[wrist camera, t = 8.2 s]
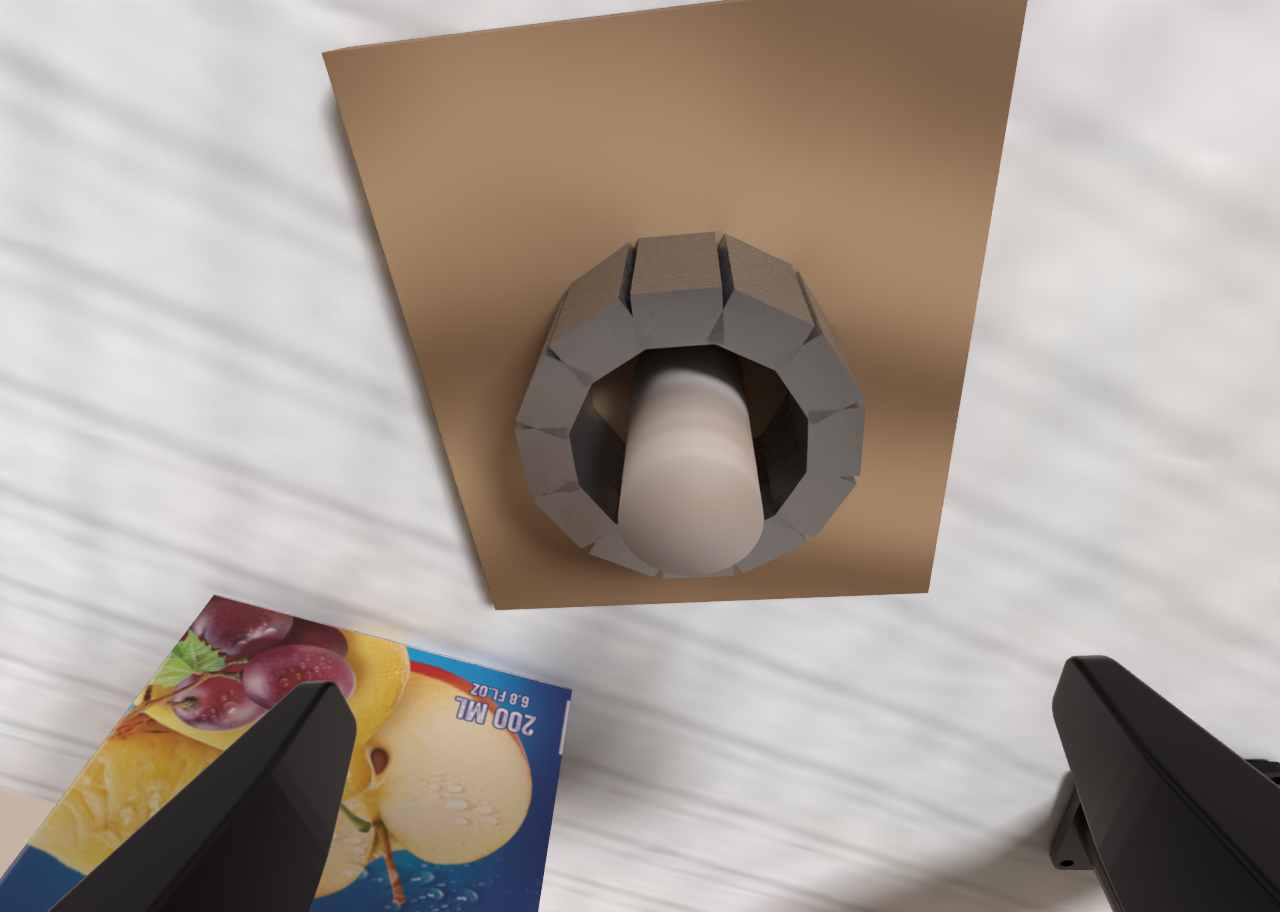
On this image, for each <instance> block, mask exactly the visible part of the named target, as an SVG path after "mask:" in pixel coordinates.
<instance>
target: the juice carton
mask: <svg viewBox="0 0 1280 912" xmlns="http://www.w3.org/2000/svg"><path fill="white" fill-rule="evenodd" d="M326 680H329V681H333V682H334V683H336V684H337V685H338V687H339V688H340V690H341V692H342V694H343V696H344V698H345V699H346V701H347V703H348V705H349V707H350V709H351V711H352V712H353V714H354V716H355V719H356V724H357V734H356V740H355V744H354V749H353V753H352V757H351V762H350V766H349V770H348V775H347V779H346V783H345V788H344V792H343V796H342V800H341V805H340V809H339V813H338V818H337V822H336V826H335V831H334V835H333V839H332V843H331V847H330V850H329V854H328V858H327V861H326V864H325V867H324V870H323V874H322V877H321V880H320V883H319V886H318V889H317V892H316V894H315V897H314V900H313V903H312V906H311V909H310V912H538V909H539V902H540V895H541V889H542V882H543V876H544V869H545V863H546V856H547V850H548V843H549V837H550V830H551V824H552V817H553V810H554V804H555V797H556V791H557V784H558V778H559V771H560V765H561V758H562V752H563V745H564V739H565V732H566V725H567V719H568V712H569V706H570V699H571V693H572V689H569V688H566V687H562V686H558V685H554V684H551V683H547V682H543V681H539V680H536V679H532V678H528V677H524V676H520V675H517V674H513V673H509V672H505V671H502V670H498V669H494V668H490V667H487V666H483V665H479V664H475V663H471V662H468V661H464V660H460V659H456V658H453V657H449V656H445V655H441V654H437V653H434V652H430V651H426V650H422V649H419V648H415V647H411V646H407V645H404V644H400V643H396V642H392V641H388V640H385V639H381V638H377V637H373V636H370V635H366V634H362V633H358V632H355V631H351V630H347V629H343V628H339V627H336V626H332V625H328V624H324V623H321V622H317V621H313V620H309V619H306V618H302V617H298V616H294V615H290V614H287V613H283V612H279V611H275V610H272V609H268V608H264V607H260V606H256V605H253V604H249V603H245V602H241V601H238V600H234V599H230V598H226V597H223V596H219V595H214V596H213V597H212V598H211V600H210V601H209V602H208V604H207V605H206V606H205V608H204V609H203V610H202V612H201V613H200V614H199V616H198V617H197V618H196V620H195V621H194V622H193V624H192V625H191V626H190V628H189V629H188V630H187V632H186V633H185V634H184V636H183V637H182V638H181V640H180V641H179V642H178V644H177V645H176V646H175V647H174V649H173V650H172V651H171V653H170V654H169V655H168V657H167V658H166V659H165V661H164V662H163V663H162V665H161V666H160V667H159V669H158V670H157V671H156V673H155V674H154V675H153V677H152V678H151V679H150V681H149V682H148V683H147V685H146V686H145V687H144V689H143V690H142V691H141V693H140V694H139V695H138V697H137V698H136V699H135V701H134V702H133V703H132V705H131V706H130V707H129V709H128V710H127V711H126V713H125V714H124V715H123V717H122V718H121V719H120V721H119V722H118V723H117V725H116V726H115V727H114V728H113V730H112V731H111V732H110V734H109V735H108V736H107V738H106V739H105V740H104V742H103V743H102V744H101V746H100V747H99V748H98V750H97V751H96V752H95V754H94V755H93V756H92V758H91V759H90V760H89V762H88V763H87V764H86V766H85V767H84V768H83V770H82V771H81V772H80V774H79V775H78V776H77V778H76V779H75V780H74V782H73V783H72V784H71V786H70V787H69V788H68V790H67V791H66V792H65V794H64V795H63V796H62V798H61V799H60V800H59V802H58V803H57V804H56V806H55V807H54V808H53V810H52V811H51V812H50V814H49V815H48V816H47V817H46V819H45V820H44V822H43V823H42V824H41V825H40V827H39V828H38V829H37V831H36V832H35V833H34V835H33V836H32V838H31V839H30V840H29V841H28V843H27V844H26V846H25V847H24V848H23V849H22V851H21V852H20V853H19V855H18V856H17V857H16V859H15V860H14V861H13V863H12V864H11V866H10V867H9V868H8V869H7V871H6V872H5V873H4V875H3V876H2V877H1V879H0V912H47V911H48V910H49V909H50V908H52V907H53V906H54V905H55V904H56V903H57V902H58V901H59V900H60V899H61V898H63V897H64V896H65V895H66V894H67V893H68V892H69V891H70V890H71V889H73V888H74V887H75V886H76V885H77V884H78V883H79V882H80V881H81V880H82V879H84V878H85V877H86V876H87V875H88V874H89V873H90V872H91V871H92V870H93V869H95V868H96V867H97V866H98V865H99V864H100V863H101V862H102V861H103V860H105V859H106V858H107V857H108V856H109V855H110V854H111V853H112V852H113V851H114V850H116V849H117V848H118V847H119V846H120V845H121V844H122V843H123V842H124V841H125V840H127V839H128V838H129V837H130V836H131V835H132V834H133V833H134V832H135V831H137V830H138V829H139V828H140V827H141V826H142V825H143V824H144V823H145V822H146V821H148V820H149V819H150V818H151V817H152V816H153V815H154V814H155V813H156V812H157V811H159V810H160V809H161V808H162V807H163V806H164V805H165V804H166V803H167V802H169V801H170V800H171V799H172V798H173V797H174V796H175V795H176V794H177V793H178V792H180V791H181V790H182V789H183V788H184V787H185V786H186V785H187V784H188V783H190V782H191V781H192V780H193V779H194V778H195V777H196V776H197V775H198V774H199V773H201V772H202V771H203V770H204V769H205V768H206V767H207V766H208V765H209V764H210V763H212V762H213V761H214V760H215V759H216V758H217V757H218V756H219V755H220V754H222V753H223V752H224V751H225V750H226V749H227V748H228V747H229V746H230V745H231V744H233V743H234V742H235V741H236V740H237V739H238V738H239V737H240V736H241V735H242V734H244V733H245V732H246V731H247V730H248V729H249V728H250V727H251V726H252V725H254V724H255V723H256V722H257V721H258V720H259V719H260V718H261V717H262V716H263V715H265V714H266V713H267V712H268V711H269V710H270V709H271V708H272V707H273V706H274V705H276V704H277V703H278V702H279V701H280V700H281V699H282V698H283V697H284V696H286V695H287V694H288V693H289V692H290V691H291V690H292V689H293V688H294V687H296V686H297V685H299V684H300V683H302V682H306V681H326Z"/></svg>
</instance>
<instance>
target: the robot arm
mask: <svg viewBox="0 0 1280 912" xmlns="http://www.w3.org/2000/svg"><path fill="white" fill-rule="evenodd" d="M1052 712H1053V717H1054V721H1055V724H1056V727H1057V730H1058V733H1059V736H1060V739H1061V742H1062V746H1063V749H1064V752H1065V755H1066V758H1067V761H1068V764H1069V767H1070V770H1071V773H1072V776H1073V779H1074V782H1075V785H1076V790H1075V793H1074V795H1073V797H1072V800H1071V802H1070V805H1069V807H1068V809H1067V812H1066V814H1065V817H1064V819H1063V821H1062V824H1061V826H1060V828H1059V831H1058V833H1057V836H1056V838H1055V840H1054V843H1053V845H1052V847H1051V850H1050V852H1049V856H1050V859H1051V861H1052V863H1053V866H1054V867H1055V868H1057V869H1062V870H1094V871H1095V874H1096V876H1097V878H1098V880H1099V882H1100V884H1101V887H1102V889H1103V891H1104V893H1105V895H1106V897H1107V900H1108V902H1109V904H1110V906H1111V908H1112V910H1113V912H1280V763H1279V762H1247V761H1245V760H1244V759H1243V758H1241V757H1240V756H1239V755H1237V754H1236V753H1235V752H1234V751H1232V750H1231V749H1230V748H1228V747H1227V746H1226V745H1224V744H1223V743H1222V742H1221V741H1219V740H1218V739H1217V738H1215V737H1214V736H1213V735H1211V734H1210V733H1209V732H1208V731H1206V730H1205V729H1204V728H1202V727H1201V726H1200V725H1198V724H1197V723H1196V722H1195V721H1193V720H1192V719H1191V718H1189V717H1188V716H1187V715H1185V714H1184V713H1183V712H1182V711H1180V710H1179V709H1178V708H1176V707H1175V706H1174V705H1172V704H1171V703H1170V702H1169V701H1167V700H1166V699H1165V698H1163V697H1162V696H1161V695H1159V694H1158V693H1157V692H1156V691H1154V690H1153V689H1152V688H1150V687H1149V686H1148V685H1146V684H1145V683H1144V682H1143V681H1141V680H1140V679H1139V678H1137V677H1136V676H1135V675H1133V674H1132V673H1131V672H1130V671H1128V670H1127V669H1126V668H1124V667H1123V666H1122V665H1120V664H1119V663H1118V662H1116V661H1115V660H1113V659H1111V658H1109V657H1107V656H1102V655H1091V656H1073V657H1071V658H1069V659H1068V660H1067V661H1066V663H1065V665H1064V668H1063V671H1062V673H1061V676H1060V679H1059V682H1058V685H1057V688H1056V691H1055V694H1054V697H1053V701H1052ZM356 734H357V724H356V719H355V716H354V714H353V712H352V711H351V709H350V707H349V705H348V703H347V701H346V699H345V698H344V696H343V694H342V692H341V690H340V688H339V687H338V685H337V684H336V683H334V682H333V681H329V680H326V681H306V682H302V683H300V684H299V685H297V686H296V687H294V688H293V689H292V690H291V691H290V692H289V693H288V694H287V695H286V696H284V697H283V698H282V699H281V700H280V701H279V702H278V703H277V704H276V705H274V706H273V707H272V708H271V709H270V710H269V711H268V712H267V713H266V714H265V715H263V716H262V717H261V718H260V719H259V720H258V721H257V722H256V723H255V724H254V725H252V726H251V727H250V728H249V729H248V730H247V731H246V732H245V733H244V734H242V735H241V736H240V737H239V738H238V739H237V740H236V741H235V742H234V743H233V744H231V745H230V746H229V747H228V748H227V749H226V750H225V751H224V752H223V753H222V754H220V755H219V756H218V757H217V758H216V759H215V760H214V761H213V762H212V763H210V764H209V765H208V766H207V767H206V768H205V769H204V770H203V771H202V772H201V773H199V774H198V775H197V776H196V777H195V778H194V779H193V780H192V781H191V782H190V783H188V784H187V785H186V786H185V787H184V788H183V789H182V790H181V791H180V792H178V793H177V794H176V795H175V796H174V797H173V798H172V799H171V800H170V801H169V802H167V803H166V804H165V805H164V806H163V807H162V808H161V809H160V810H159V811H157V812H156V813H155V814H154V815H153V816H152V817H151V818H150V819H149V820H148V821H146V822H145V823H144V824H143V825H142V826H141V827H140V828H139V829H138V830H137V831H135V832H134V833H133V834H132V835H131V836H130V837H129V838H128V839H127V840H125V841H124V842H123V843H122V844H121V845H120V846H119V847H118V848H117V849H116V850H114V851H113V852H112V853H111V854H110V855H109V856H108V857H107V858H106V859H105V860H103V861H102V862H101V863H100V864H99V865H98V866H97V867H96V868H95V869H93V870H92V871H91V872H90V873H89V874H88V875H87V876H86V877H85V878H84V879H82V880H81V881H80V882H79V883H78V884H77V885H76V886H75V887H74V888H73V889H71V890H70V891H69V892H68V893H67V894H66V895H65V896H64V897H63V898H61V899H60V900H59V901H58V902H57V903H56V904H55V905H54V906H53V907H52V908H50V909H49V910H48V911H47V912H310V909H311V906H312V903H313V900H314V897H315V894H316V892H317V889H318V886H319V883H320V880H321V877H322V874H323V870H324V867H325V864H326V861H327V858H328V854H329V850H330V847H331V843H332V839H333V835H334V831H335V826H336V822H337V818H338V813H339V809H340V805H341V800H342V796H343V792H344V788H345V783H346V779H347V775H348V770H349V766H350V762H351V757H352V753H353V749H354V744H355V740H356Z"/></svg>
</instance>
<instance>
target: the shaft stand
mask: <svg viewBox="0 0 1280 912" xmlns="http://www.w3.org/2000/svg"><path fill="white" fill-rule="evenodd" d="M1026 6H1027V0H724V1H716V2H708V3H700V4H692V5H684V6H676V7H668V8H659V9H651V10H643V11H635V12H627V13H619V14H611V15H603V16H595V17H587V18H579V19H571V20H563V21H555V22H547V23H539V24H531V25H523V26H514V27H506V28H498V29H490V30H482V31H474V32H466V33H458V34H450V35H442V36H434V37H426V38H418V39H410V40H402V41H394V42H386V43H378V44H369V45H361V46H353V47H347V48H342V49H337V50H333V51H328V52H324V53H322V55H323V59H324V62H325V65H326V68H327V72H328V75H329V78H330V81H331V84H332V88H333V91H334V94H335V97H336V100H337V104H338V107H339V110H340V113H341V116H342V120H343V123H344V126H345V129H346V132H347V136H348V139H349V142H350V145H351V148H352V152H353V155H354V158H355V161H356V164H357V168H358V171H359V174H360V177H361V180H362V184H363V187H364V190H365V193H366V197H367V200H368V203H369V206H370V209H371V213H372V216H373V219H374V222H375V225H376V229H377V232H378V235H379V238H380V241H381V245H382V248H383V251H384V254H385V257H386V261H387V264H388V267H389V270H390V273H391V277H392V280H393V283H394V286H395V289H396V293H397V296H398V299H399V302H400V305H401V309H402V312H403V315H404V318H405V322H406V325H407V328H408V331H409V334H410V338H411V341H412V344H413V347H414V350H415V354H416V357H417V360H418V363H419V366H420V370H421V373H422V376H423V379H424V382H425V386H426V389H427V392H428V395H429V398H430V402H431V405H432V408H433V411H434V414H435V418H436V421H437V424H438V427H439V430H440V434H441V437H442V440H443V443H444V447H445V450H446V453H447V456H448V459H449V463H450V466H451V469H452V472H453V475H454V479H455V482H456V485H457V488H458V491H459V495H460V498H461V501H462V504H463V507H464V511H465V514H466V517H467V520H468V523H469V527H470V530H471V533H472V536H473V539H474V543H475V546H476V549H477V552H478V555H479V559H480V562H481V565H482V568H483V572H484V575H485V578H486V581H487V584H488V588H489V591H490V594H491V597H492V600H493V604H494V607H495V610H510V609H535V608H560V607H585V606H610V605H635V604H660V603H685V602H710V601H735V600H760V599H785V598H811V597H836V596H861V595H886V594H911V593H928V590H929V584H930V578H931V572H932V566H933V560H934V554H935V549H936V543H937V537H938V531H939V525H940V519H941V513H942V507H943V501H944V495H945V489H946V483H947V477H948V471H949V465H950V459H951V453H952V447H953V441H954V435H955V429H956V423H957V417H958V411H959V405H960V399H961V394H962V388H963V382H964V376H965V370H966V364H967V358H968V352H969V346H970V340H971V334H972V328H973V322H974V316H975V310H976V304H977V298H978V292H979V286H980V280H981V274H982V268H983V262H984V256H985V250H986V245H987V239H988V233H989V227H990V221H991V215H992V209H993V203H994V197H995V191H996V185H997V179H998V173H999V167H1000V161H1001V155H1002V149H1003V143H1004V137H1005V131H1006V125H1007V119H1008V113H1009V107H1010V101H1011V95H1012V90H1013V84H1014V78H1015V72H1016V66H1017V60H1018V54H1019V48H1020V42H1021V36H1022V30H1023V24H1024V18H1025V12H1026ZM713 231H715V236H716V244H717V248H718V246H719V244H720V242H721V240H722V238H723V236H724V234H725V233H726V234H728V235H730V236H732V237H734V238H737V239H739V240H741V241H743V242H745V243H747V244H749V245H751V246H753V247H755V248H758V249H760V250H762V251H764V252H766V253H768V254H770V255H772V256H774V257H777V258H779V259H781V260H783V261H785V262H787V263H789V264H791V265H792V267H793V270H794V273H796V272H798V271H799V272H800V274H801V276H802V277H803V279H804V280H805V282H806V284H807V285H808V287H809V289H810V290H811V292H812V293H813V295H814V297H815V298H816V300H817V302H818V303H819V305H820V307H821V308H822V310H823V311H824V313H825V315H826V316H827V318H828V320H829V321H830V323H831V324H832V326H833V328H834V330H835V332H836V335H837V337H838V339H839V342H840V344H841V346H842V349H843V351H844V353H845V356H846V358H847V360H848V363H849V365H850V367H851V370H852V372H853V374H854V377H855V379H856V381H857V384H858V386H859V388H860V390H861V393H862V395H863V397H864V398H863V402H864V404H865V406H866V413H865V425H864V437H863V449H862V460H861V472H860V476H854V478H855V481H856V484H857V485H856V486H855V487H854V488H853V490H852V491H851V492H850V493H849V495H848V496H847V497H846V498H845V500H844V501H843V502H842V504H841V505H840V506H839V507H838V509H837V510H836V511H835V512H834V514H833V515H832V516H831V518H830V519H829V520H828V521H827V523H826V524H825V525H824V526H823V528H822V529H821V530H820V532H819V533H818V534H817V535H816V537H815V538H813V537H811V536H808V535H806V534H805V538H806V542H807V544H805V545H803V546H801V547H799V548H797V549H795V550H793V551H790V552H788V553H786V554H784V555H782V556H780V557H778V558H775V559H773V560H771V561H769V562H767V563H765V564H763V565H760V566H758V567H756V568H754V569H752V570H750V571H748V572H745V573H743V572H742V571H741V570H740V569H739V568H738V567H737V565H736V563H737V562H739V561H740V560H742V559H743V558H744V557H745V556H746V555H748V554H749V553H750V552H751V550H752V549H753V548H754V547H755V545H756V544H757V542H758V540H759V538H760V536H761V533H762V529H763V524H764V515H763V507H762V500H761V494H760V487H759V480H758V474H757V467H756V461H755V454H754V448H753V441H752V439H753V438H755V437H757V436H759V435H761V434H762V432H763V431H764V429H765V428H766V426H767V425H768V423H769V421H770V420H771V418H772V417H773V415H774V414H775V412H776V411H777V409H778V408H779V406H780V405H781V403H782V402H783V400H784V399H785V397H786V395H787V387H786V385H785V384H784V382H783V381H782V379H781V378H780V376H779V375H778V373H777V372H776V371H775V370H773V369H771V368H768V367H766V366H764V365H762V364H759V363H757V362H755V361H752V360H750V359H748V358H746V357H743V356H741V355H739V354H736V353H734V352H732V351H730V350H727V349H725V348H723V347H721V346H718V345H716V344H708V345H695V346H681V347H668V348H654V349H645V350H644V351H642V352H641V353H639V354H638V355H636V356H634V357H633V358H631V359H630V360H628V361H627V362H625V363H623V364H622V365H620V366H619V367H617V368H616V369H614V370H612V371H611V372H609V373H608V374H606V375H605V376H603V377H602V378H600V379H598V380H597V381H595V382H594V383H592V385H591V392H592V398H593V404H594V408H595V409H596V410H597V411H598V412H599V414H600V415H601V416H602V417H603V418H604V419H605V421H606V422H607V423H608V424H609V425H610V426H611V428H612V429H613V430H614V431H615V432H616V433H617V435H618V436H619V437H620V438H621V439H622V440H623V442H624V443H626V452H625V460H624V469H623V477H622V486H621V494H620V503H619V511H618V527H619V531H620V534H621V536H622V539H623V541H624V542H625V544H626V546H627V547H628V548H629V550H630V551H631V552H632V553H633V554H634V555H635V556H636V557H637V558H639V559H640V560H641V561H643V562H644V563H646V564H648V565H649V566H651V567H653V568H656V569H658V572H657V573H656V575H655V576H654V577H652V576H649V575H646V574H644V573H641V572H638V571H635V570H633V569H630V568H627V567H624V566H621V565H619V564H616V563H613V562H610V561H608V560H605V559H602V558H599V557H597V556H594V555H591V554H589V551H590V545H591V544H589V545H588V546H586V547H584V548H582V549H581V548H580V547H579V546H578V545H577V544H576V543H575V542H574V541H573V540H572V539H571V538H570V537H569V536H568V535H567V534H566V533H565V532H564V531H563V530H562V529H561V528H560V527H559V526H558V525H557V524H556V523H555V522H554V521H553V520H552V519H551V518H550V517H549V516H548V515H547V514H546V513H545V512H544V511H543V510H542V509H541V508H540V507H539V506H538V505H537V504H536V503H535V498H536V494H530V492H529V488H528V484H527V480H526V475H525V471H524V467H523V463H522V459H521V455H520V450H519V446H518V442H517V438H516V434H515V428H516V425H517V421H515V420H516V417H517V415H518V412H519V409H520V407H521V404H522V401H523V399H524V396H525V393H526V391H527V388H528V385H529V382H530V380H531V377H532V374H533V372H534V369H535V366H536V364H537V361H538V358H539V356H540V353H541V350H542V348H543V345H544V343H545V340H546V338H547V335H548V333H549V330H550V328H551V325H552V323H553V321H554V318H555V316H556V313H557V311H558V308H559V306H560V303H561V301H562V298H563V296H564V293H565V291H569V289H570V286H571V283H572V282H574V281H575V280H577V279H578V278H579V277H581V276H582V275H584V274H585V273H586V272H588V271H589V270H591V269H592V268H593V267H595V266H596V265H598V264H599V263H600V262H602V261H603V260H605V259H606V258H607V257H609V256H610V255H612V254H613V253H614V252H616V251H617V250H619V249H620V248H621V247H623V246H624V245H626V244H627V243H628V242H630V243H631V244H632V246H633V247H634V249H635V250H636V251H637V249H638V242H639V238H646V237H657V236H668V235H679V234H690V233H701V232H713ZM732 565H734V576H716V577H692V578H668V579H664V578H663V571H664V572H667V573H672V574H677V575H705V574H710V573H714V572H718V571H721V570H724V569H726V568H728V567H730V566H732Z"/></svg>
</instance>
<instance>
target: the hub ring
mask: <svg viewBox="0 0 1280 912" xmlns="http://www.w3.org/2000/svg"><path fill="white" fill-rule="evenodd" d="M708 344H716V345H718V346H721V347H723V348H725V349H727V350H730V351H732V352H734V353H736V354H739V355H741V356H743V357H746V358H748V359H750V360H752V361H755V362H757V363H759V364H762V365H764V366H766V367H768V368H771V369H773V370H775V371H776V372H777V373H778V375H779V376H780V378H781V379H782V381H783V382H784V384H785V385H786V387H787V395H786V397H785V399H784V400H783V402H782V403H781V405H780V406H779V408H778V409H777V411H776V412H775V414H774V415H773V417H772V418H771V420H770V421H769V423H768V425H767V426H766V428H765V429H764V431H763V432H762V434H761V435H759V436H757V437H755V438H753V439H752V441H753V448H754V454H755V461H756V467H757V474H758V480H759V487H760V494H761V500H762V507H763V515H764V524H763V529H762V533H761V536H760V538H759V540H758V542H757V544H756V545H755V547H754V548H753V549H752V550H751V552H750V553H749V554H748V555H746V556H745V557H744V558H743V559H742V560H740V561H739V562H737V563H736V565H737V567H738V568H739V569H740V570H741V571H742V572H743V573H745V572H748V571H750V570H752V569H754V568H756V567H758V566H760V565H763V564H765V563H767V562H769V561H771V560H773V559H775V558H778V557H780V556H782V555H784V554H786V553H788V552H790V551H793V550H795V549H797V548H799V547H801V546H803V545H805V544H807V542H806V538H805V534H806V535H808V536H811V537H813V538H815V537H816V535H817V534H818V533H819V532H820V530H821V529H822V528H823V526H824V525H825V524H826V523H827V521H828V520H829V519H830V518H831V516H832V515H833V514H834V512H835V511H836V510H837V509H838V507H839V506H840V505H841V504H842V502H843V501H844V500H845V498H846V497H847V496H848V495H849V493H850V492H851V491H852V490H853V488H854V487H855V486H856V485H857V484H856V481H855V478H854V476H860V472H861V460H862V449H863V437H864V425H865V413H866V406H865V404H864V402H863V398H864V397H863V395H862V393H861V390H860V388H859V386H858V384H857V381H856V379H855V377H854V374H853V372H852V370H851V367H850V365H849V363H848V360H847V358H846V356H845V353H844V351H843V349H842V346H841V344H840V342H839V339H838V337H837V335H836V332H835V330H834V328H833V326H832V324H831V323H830V321H829V320H828V318H827V316H826V315H825V313H824V311H823V310H822V308H821V307H820V305H819V303H818V302H817V300H816V298H815V297H814V295H813V293H812V292H811V290H810V289H809V287H808V285H807V284H806V282H805V280H804V279H803V277H802V276H801V274H800V272H799V271H798V272H796V273H794V270H793V267H792V265H791V264H789V263H787V262H785V261H783V260H781V259H779V258H777V257H774V256H772V255H770V254H768V253H766V252H764V251H762V250H760V249H758V248H755V247H753V246H751V245H749V244H747V243H745V242H743V241H741V240H739V239H737V238H734V237H732V236H730V235H728V234H726V233H725V234H724V236H723V238H722V240H721V242H720V244H719V246H718V248H717V244H716V236H715V231H713V232H701V233H690V234H679V235H668V236H657V237H646V238H639V242H638V249H637V251H636V250H635V249H634V247H633V246H632V244H631V243H630V242H628V243H627V244H626V245H624V246H623V247H621V248H620V249H619V250H617V251H616V252H614V253H613V254H612V255H610V256H609V257H607V258H606V259H605V260H603V261H602V262H600V263H599V264H598V265H596V266H595V267H593V268H592V269H591V270H589V271H588V272H586V273H585V274H584V275H582V276H581V277H579V278H578V279H577V280H575V281H574V282H572V283H571V286H570V289H569V291H565V293H564V296H563V298H562V301H561V303H560V306H559V308H558V311H557V313H556V316H555V318H554V321H553V323H552V325H551V328H550V330H549V333H548V335H547V338H546V340H545V343H544V345H543V348H542V350H541V353H540V356H539V358H538V361H537V364H536V366H535V369H534V372H533V374H532V377H531V380H530V382H529V385H528V388H527V391H526V393H525V396H524V399H523V401H522V404H521V407H520V409H519V412H518V415H517V417H516V420H515V421H517V425H516V428H515V434H516V438H517V442H518V446H519V450H520V455H521V459H522V463H523V467H524V471H525V475H526V480H527V484H528V488H529V492H530V494H536V498H535V503H536V504H537V505H538V506H539V507H540V508H541V509H542V510H543V511H544V512H545V513H546V514H547V515H548V516H549V517H550V518H551V519H552V520H553V521H554V522H555V523H556V524H557V525H558V526H559V527H560V528H561V529H562V530H563V531H564V532H565V533H566V534H567V535H568V536H569V537H570V538H571V539H572V540H573V541H574V542H575V543H576V544H577V545H578V546H579V547H580V548H581V549H582V548H584V547H586V546H588V545H589V544H591V545H590V551H589V554H591V555H594V556H597V557H599V558H602V559H605V560H608V561H610V562H613V563H616V564H619V565H621V566H624V567H627V568H630V569H633V570H635V571H638V572H641V573H644V574H646V575H649V576H652V577H654V576H655V575H656V573H657V572H658V569H656V568H653V567H651V566H649V565H648V564H646V563H644V562H643V561H641V560H640V559H639V558H637V557H636V556H635V555H634V554H633V553H632V552H631V551H630V550H629V548H628V547H627V546H626V544H625V542H624V541H623V539H622V536H621V534H620V531H619V527H618V511H619V503H620V494H621V486H622V477H623V469H624V460H625V452H626V443H624V442H623V440H622V439H621V438H620V437H619V436H618V435H617V433H616V432H615V431H614V430H613V429H612V428H611V426H610V425H609V424H608V423H607V422H606V421H605V419H604V418H603V417H602V416H601V415H600V414H599V412H598V411H597V410H596V409H595V408H594V404H593V398H592V392H591V385H592V383H594V382H595V381H597V380H598V379H600V378H602V377H603V376H605V375H606V374H608V373H609V372H611V371H612V370H614V369H616V368H617V367H619V366H620V365H622V364H623V363H625V362H627V361H628V360H630V359H631V358H633V357H634V356H636V355H638V354H639V353H641V352H642V351H644V350H645V349H654V348H668V347H681V346H695V345H708ZM716 576H734V565H732V566H730V567H728V568H726V569H724V570H721V571H718V572H714V573H710V574H705V575H677V574H672V573H667V572H664V571H663V578H664V579H668V578H692V577H716Z"/></svg>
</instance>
